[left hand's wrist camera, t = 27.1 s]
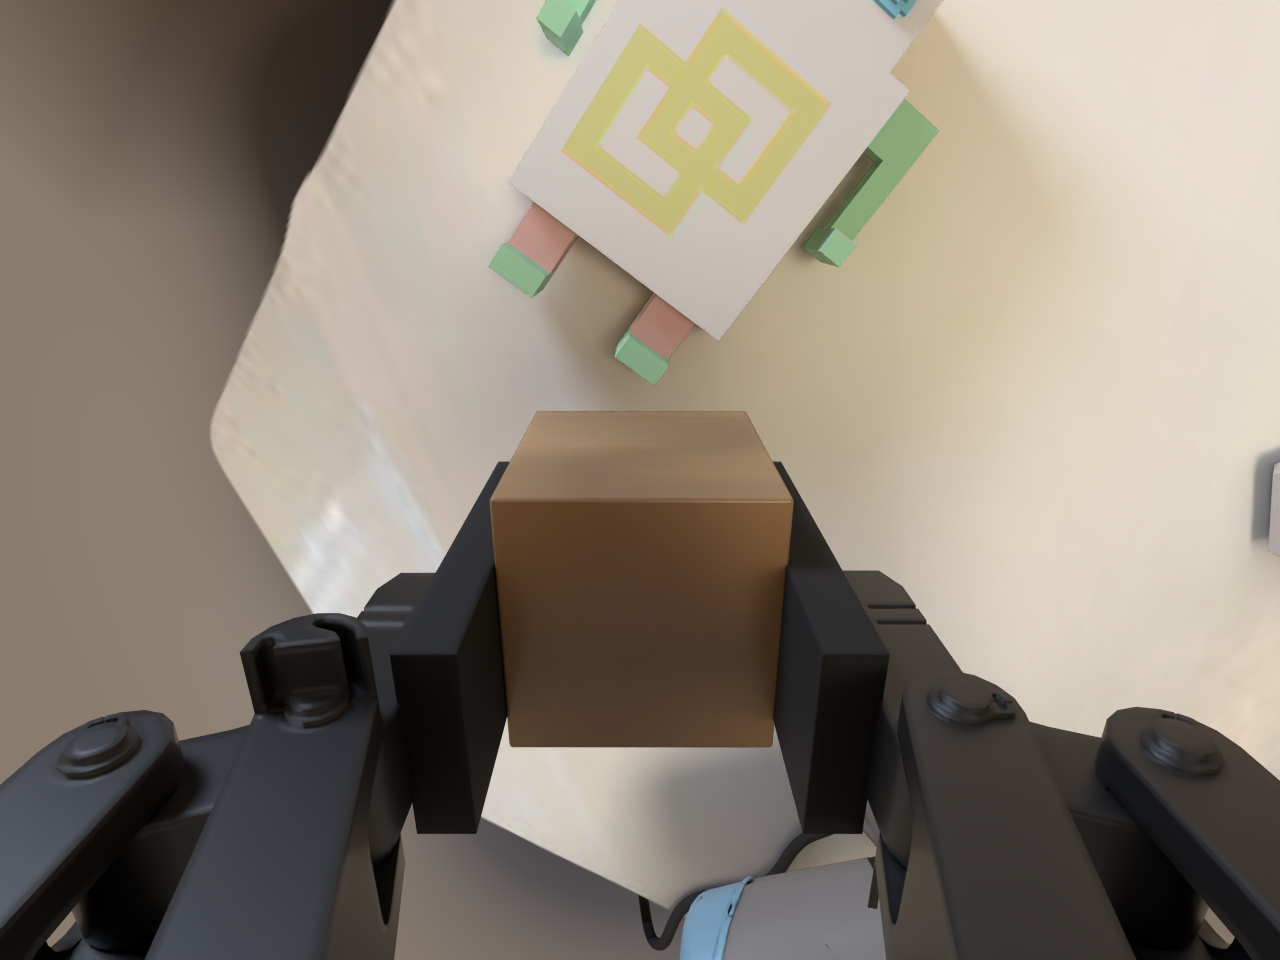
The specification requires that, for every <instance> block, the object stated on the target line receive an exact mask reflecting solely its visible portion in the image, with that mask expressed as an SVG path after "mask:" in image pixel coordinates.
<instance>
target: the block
mask: <svg viewBox="0 0 1280 960" xmlns="http://www.w3.org/2000/svg"><path fill="white" fill-rule="evenodd" d="M793 502H794V501H793V499H792V497H791V495H790V493H789V491H788V489H787V487H786V486H785V484H784V482H783V480H782V478H781V476H780V474H779V473H778V471H777V469H776V467H775V465H774V463H773V462H772V460H771V458H770V456H769V454H768V452H767V450H766V449H765V447H764V445H763V443H762V441H761V439H760V437H759V436H758V434H757V432H756V430H755V428H754V426H753V424H752V423H751V421H750V419H749V417H748V415H747V413H746V412H744V411H537V412H536V414H535V416H534V418H533V419H532V421H531V423H530V425H529V427H528V429H527V431H526V433H525V435H524V436H523V438H522V440H521V442H520V444H519V446H518V448H517V450H516V451H515V453H514V455H513V457H512V459H511V461H510V463H509V465H508V467H507V468H506V470H505V472H504V474H503V476H502V478H501V480H500V482H499V484H498V485H497V487H496V489H495V491H494V493H493V495H492V497H491V499H490V512H491V524H492V536H493V548H494V560H495V572H496V585H497V597H498V609H499V621H500V633H501V645H502V657H503V670H504V682H505V694H506V706H507V718H508V730H509V743H510V746H511V747H771V746H772V744H773V733H774V721H773V716H774V704H775V692H776V680H777V669H778V657H779V645H780V633H781V621H782V609H783V597H784V585H785V574H786V565H788V560H789V548H790V537H791V525H792V514H793Z"/></svg>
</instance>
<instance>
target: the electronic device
mask: <svg viewBox="0 0 1280 960" xmlns="http://www.w3.org/2000/svg"><path fill="white" fill-rule="evenodd" d="M1268 551H1269V552H1271V553H1273V554H1276V555H1278V556H1280V462H1279V463H1277V464H1275V466H1274V471H1273V481H1272V497H1271V513H1270V530H1269V546H1268Z"/></svg>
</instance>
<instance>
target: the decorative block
mask: <svg viewBox="0 0 1280 960" xmlns="http://www.w3.org/2000/svg"><path fill="white" fill-rule="evenodd" d="M595 1H596V0H546V2H545V3H544V5H543V7H542V9H541V10H540V12H539V14H538V16H537V17H536V18H537V20H538V22H539V24H540V26H541V28H542V30H543V32H544V33H545V35H546V37H547V39H548V40H550V41H551V42H552V43H553V44H554V45H556V46H557V47H558V48H559V49H561V50H562V51H563V52H564V53H565V54H567V55H568V56H569V55H570V53H571V51H572V50H573V48H574V46H575V45H576V43H577V41H578V40H579V38H580V36H581V35H582V33H583V30H582V26H581V25H582V23H583V21H584V20H585V18H586V16H587V15H588V13H589V11H590V10H591V8H592V6H593V5H594V3H595ZM942 1H943V0H618V2H617V4H616V5H615V7H614V8H613V10H612V12H611V13H610V15H609V17H608V18H607V20H606V22H605V23H604V25H603V27H602V28H601V30H600V32H599V33H598V35H597V36H596V38H595V40H594V41H593V43H592V45H591V46H590V48H589V50H588V51H587V53H586V55H585V56H584V58H583V59H582V61H581V63H580V64H579V66H578V68H577V69H576V71H575V73H574V74H573V76H572V78H571V79H570V81H569V82H568V84H567V86H566V87H565V89H564V91H563V92H562V94H561V96H560V97H559V99H558V101H557V102H556V104H555V106H554V107H553V109H552V110H551V112H550V114H549V115H548V117H547V119H546V120H545V122H544V124H543V125H542V127H541V129H540V130H539V132H538V133H537V135H536V137H535V138H534V140H533V142H532V143H531V145H530V147H529V148H528V150H527V152H526V153H525V155H524V157H523V158H522V160H521V161H520V163H519V165H518V166H517V168H516V170H515V171H514V173H513V175H512V176H511V178H510V180H509V181H508V182H509V183H510V184H511V185H513V186H514V187H515V188H517V189H518V190H519V191H521V192H522V193H523V194H525V195H526V196H527V197H529V198H530V199H531V200H532V201H534V203H533V204H532V206H531V207H530V209H529V211H528V212H527V214H526V215H525V217H524V219H523V220H522V222H521V223H520V225H519V227H518V228H517V230H516V231H515V233H514V235H513V236H512V238H511V239H510V241H509V243H507V244H502V246H501V247H500V249H499V250H498V252H497V254H496V255H495V257H494V259H493V260H492V262H491V263H490V265H489V267H490V268H491V269H493V270H494V271H496V272H497V273H498V274H500V275H501V276H502V277H504V278H505V279H507V280H508V281H509V282H511V283H512V284H514V285H515V286H516V287H518V288H519V289H520V290H522V291H523V292H525V293H526V294H527V295H529V296H530V297H533V296H535V295H536V294H537V293H539V292H540V291H541V290H543V288H544V287H545V285H546V284H547V282H548V281H549V279H550V278H551V276H552V275H553V273H554V272H555V270H556V269H557V267H558V266H559V264H560V263H561V261H562V260H563V258H564V257H565V255H566V253H567V252H568V250H569V249H570V247H571V246H572V244H573V243H574V241H575V240H576V238H577V237H578V235H579V236H580V237H581V238H583V239H584V240H585V241H587V242H588V243H589V244H591V245H592V246H593V247H595V248H596V249H597V250H599V251H600V252H601V253H603V254H604V255H605V256H607V257H608V258H609V259H611V260H612V261H613V262H615V263H616V264H617V265H618V266H620V267H621V268H622V269H624V270H625V271H626V272H628V273H629V274H630V275H632V276H633V277H634V278H636V279H637V280H638V281H640V282H641V283H642V284H644V285H645V286H646V287H648V288H649V289H650V290H652V291H653V292H654V293H653V294H652V296H651V297H650V298H649V300H648V301H647V303H646V304H645V305H644V307H643V308H642V310H641V311H640V312H639V314H638V315H637V317H636V318H635V319H634V321H633V322H632V324H631V325H630V326H629V328H628V329H627V331H626V332H625V333H624V335H623V336H622V338H621V339H620V340H619V342H618V343H617V348H616V353H615V358H616V359H618V360H619V361H620V362H622V363H623V364H625V365H626V366H627V367H629V368H630V369H631V370H633V371H634V372H636V373H637V374H638V375H640V376H641V377H643V378H644V379H645V380H647V381H648V382H649V383H651V384H652V385H654V386H655V384H656V383H657V382H658V380H659V379H660V378H661V376H662V375H663V374H664V372H665V371H666V370H667V368H668V367H669V365H668V359H669V358H670V357H671V355H672V354H673V353H674V351H675V350H676V349H677V347H678V346H679V345H680V343H681V342H682V341H683V339H684V338H685V337H686V335H687V334H688V333H689V331H690V330H691V329H692V327H693V326H694V325H695V324H697V325H698V326H699V327H700V328H702V329H703V330H704V331H706V332H707V333H708V334H710V335H711V336H712V337H714V338H715V339H716V340H718V341H719V340H720V339H721V337H722V336H723V335H724V333H725V332H726V331H727V330H728V328H729V327H730V326H731V324H732V323H733V322H734V320H735V319H736V318H737V316H738V315H739V314H740V313H741V311H742V310H743V309H744V307H745V306H746V305H747V303H748V302H749V301H750V299H751V298H752V297H753V296H754V294H755V293H756V292H757V290H758V289H759V288H760V286H761V285H762V284H763V282H764V281H765V280H766V279H767V277H768V276H769V275H770V273H771V272H772V271H773V269H774V268H775V267H776V265H777V264H778V263H779V262H780V260H781V259H782V258H783V256H784V255H785V254H786V252H787V251H788V250H789V249H790V247H791V246H792V245H793V243H794V242H795V241H796V239H797V238H798V237H799V235H800V234H801V233H802V232H803V230H804V229H805V228H806V226H807V225H808V224H809V222H810V221H811V220H812V218H813V217H814V216H815V215H816V213H817V212H818V211H819V209H820V208H821V207H822V205H823V204H824V203H825V201H826V200H827V199H828V198H829V196H830V195H831V194H832V192H833V191H834V190H835V188H836V187H837V186H838V184H839V183H840V182H841V181H842V179H843V178H844V177H845V175H846V174H847V173H848V171H849V170H850V169H851V168H852V166H853V165H854V164H855V162H856V161H857V160H858V158H859V157H860V156H861V154H862V153H864V154H866V155H867V156H868V157H869V158H870V159H871V160H872V161H874V162H875V163H874V164H873V166H872V167H871V168H870V169H869V171H868V172H867V173H866V175H865V176H864V177H863V178H862V180H861V181H860V182H859V184H858V185H857V186H856V187H855V189H854V190H853V191H852V193H851V194H850V195H849V196H848V198H847V199H846V200H845V202H844V203H843V204H842V206H841V207H840V208H839V209H838V211H837V212H836V213H835V215H834V216H833V217H832V218H831V220H830V221H829V222H828V224H827V225H826V226H825V227H824V228H819V227H818V229H817V230H816V231H815V232H814V234H813V235H812V236H811V238H810V239H809V240H808V242H807V243H806V244H805V245H804V247H803V248H804V249H805V250H806V251H807V252H809V253H810V254H811V255H812V256H814V257H815V258H816V259H817V260H818V261H820V262H822V263H826V264H830V265H833V266H837V267H840V265H841V264H842V263H843V262H844V260H845V259H846V258H847V257H848V255H849V254H850V253H851V252H852V250H853V249H854V248H855V247H856V244H855V243H854V242H853V241H852V240H853V239H854V238H855V236H856V235H857V234H858V233H859V231H860V230H861V229H862V227H863V226H864V225H865V224H866V222H867V221H868V220H869V219H870V217H871V216H872V215H873V214H874V212H875V211H876V210H877V209H878V207H879V206H880V205H881V204H882V202H883V201H884V200H885V198H886V197H887V196H888V195H889V193H890V192H891V191H892V190H893V188H894V187H895V186H896V185H897V183H898V182H899V181H900V180H901V178H902V177H903V176H904V175H905V173H906V172H907V171H908V169H909V168H910V167H911V166H912V164H913V163H914V162H915V161H916V159H917V158H918V157H919V156H920V154H921V153H922V152H923V151H924V149H925V148H926V147H927V146H928V144H929V143H930V142H931V140H932V139H933V138H934V137H935V135H936V134H937V133H938V132H939V130H938V129H937V128H936V127H935V126H934V125H932V124H931V123H930V122H929V121H928V120H927V119H926V118H925V117H924V116H923V115H922V114H920V113H919V112H918V111H917V110H916V109H915V108H914V107H913V106H912V105H911V104H910V103H908V102H907V101H906V100H905V99H904V98H905V97H906V96H907V94H908V93H909V92H910V90H909V89H908V88H907V87H906V86H905V85H904V84H903V83H901V82H900V81H899V80H898V79H897V78H896V77H895V76H894V75H893V74H892V73H891V72H890V71H891V69H892V68H893V67H894V65H895V64H896V63H897V61H898V60H899V59H900V57H901V56H902V55H903V53H904V52H905V51H906V49H907V48H908V47H909V45H910V44H911V43H912V41H913V40H914V39H915V37H916V36H917V35H918V33H919V32H920V31H921V29H922V28H923V27H924V25H925V24H926V23H927V21H928V20H929V19H930V17H931V16H932V15H933V13H934V12H935V11H936V9H937V8H938V7H939V5H940V4H941V3H942Z"/></svg>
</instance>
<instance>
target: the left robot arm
mask: <svg viewBox="0 0 1280 960" xmlns="http://www.w3.org/2000/svg"><path fill="white" fill-rule="evenodd" d="M509 463H510V462H498V464H497V465H496V467H495V469H494V471H493V472H492V474H491V476H490V478H489V480H488V481H487V483H486V485H485V487H484V488H483V490H482V492H481V494H480V495H479V497H478V499H477V501H476V503H475V504H474V506H473V508H472V510H471V511H470V513H469V515H468V517H467V519H466V520H465V522H464V524H463V526H462V527H461V529H460V531H459V533H458V534H457V536H456V538H455V540H454V542H453V543H452V545H451V547H450V549H449V550H448V552H447V554H446V556H445V557H444V559H443V561H442V563H441V565H440V566H439V568H438V570H437V572H436V573H400V574H399V575H397V576H396V577H394V578H393V579H391V580H390V581H388V582H387V583H385V584H384V585H382V586H381V587H379V588H378V589H377V590H376V591H375V593H374V594H373V596H372V597H371V599H370V600H369V601H368V603H367V604H366V606H365V607H364V611H362V612H361V613H360V614H359V616H358V617H357V618H356V617H352V616H348V615H344V614H340V613H317V614H312V615H307V616H302V617H297V618H293V619H290V620H287V621H285V622H282V623H280V624H277V625H274V626H272V627H270V628H268V629H267V630H265V631H263V632H262V633H260V634H259V635H257V636H255V637H254V638H252V639H251V640H250V641H249V642H248V644H247V645H246V646H245V647H244V648H243V649H242V650H241V652H240V655H241V659H242V663H243V667H244V671H245V675H246V679H247V684H248V688H249V692H250V696H251V700H252V704H253V708H254V712H255V715H254V717H253V719H252V721H251V724H250V725H247V726H244V727H240V728H237V729H233V730H229V731H224V732H219V733H214V734H210V735H205V736H200V737H196V738H191V739H187V740H181V741H179V740H178V737H177V733H176V730H175V727H174V723H173V722H172V721H171V720H170V719H169V718H167V717H166V716H165V715H164V714H163V713H157V712H152V711H146V710H140V711H131V712H121V713H117V714H112V715H108V716H106V717H101V718H98V719H95V720H92V721H89V722H87V723H86V724H84V725H82V726H80V727H77V728H75V729H73V730H71V731H69V732H67V733H65V734H63V735H62V736H60V737H59V738H57V739H56V740H54V741H53V742H51V743H50V744H49V745H47V746H46V747H44V748H43V749H42V750H40V751H39V752H38V753H37V754H35V755H34V756H33V757H32V758H31V759H30V760H28V761H27V762H26V763H25V764H24V765H23V766H22V767H20V768H19V769H18V770H17V771H16V772H15V773H14V774H12V775H11V776H10V777H9V778H8V779H7V780H5V781H4V782H3V783H2V784H1V785H0V960H394V955H395V946H396V937H397V929H398V920H399V911H400V903H401V894H402V886H403V876H404V868H405V859H404V852H403V845H402V839H401V830H402V827H403V825H404V822H405V820H406V817H407V815H408V812H409V809H410V807H411V804H412V803H413V810H414V816H415V822H416V829H417V834H476V833H477V829H478V825H479V822H480V818H481V814H482V810H483V806H484V802H485V799H486V795H487V791H488V787H489V783H490V780H491V776H492V772H493V768H494V764H495V761H496V757H497V753H498V749H499V745H500V742H501V738H502V734H503V730H504V726H505V722H506V719H507V706H506V694H505V682H504V670H503V657H502V645H501V633H500V621H499V609H498V597H497V585H496V572H495V560H494V548H493V536H492V524H491V512H490V499H491V497H492V495H493V493H494V491H495V489H496V487H497V485H498V484H499V482H500V480H501V478H502V476H503V474H504V472H505V470H506V468H507V467H508V465H509ZM773 463H774V465H775V467H776V469H777V471H778V473H779V474H780V476H781V478H782V480H783V482H784V484H785V486H786V487H787V489H788V491H789V493H790V495H791V497H792V499H793V501H794V502H793V514H792V525H791V537H790V548H789V560H788V565H786V574H785V585H784V597H783V609H782V621H781V633H780V645H779V657H778V669H777V680H776V692H775V704H774V716H773V721H774V724H775V728H776V732H777V736H778V740H779V743H780V747H781V751H782V755H783V759H784V762H785V766H786V770H787V774H788V778H789V782H790V785H791V789H792V793H793V797H794V801H795V804H796V808H797V812H798V816H799V820H800V823H801V827H802V831H803V833H802V834H800V835H799V836H798V837H796V838H795V839H794V840H793V841H792V842H791V843H790V844H789V845H788V847H787V848H786V849H785V851H784V852H783V854H782V855H781V857H780V859H779V860H778V862H777V863H776V865H775V866H774V867H773V869H772V870H771V871H770V872H769V873H768V874H767V875H765V876H764V877H757V876H755V875H754V876H748V877H746V878H744V879H743V880H742V881H741V882H738V883H734V884H730V885H726V886H722V887H718V888H714V889H708V890H703V891H699V892H697V893H694V894H692V895H690V896H688V897H686V898H685V899H683V900H682V901H681V902H680V903H679V904H678V905H677V906H676V907H675V909H674V910H673V912H672V914H671V916H670V918H669V920H668V922H667V925H666V927H665V930H664V932H663V934H662V936H661V937H660V938H658V937H657V936H656V933H655V931H654V927H653V923H652V918H651V912H650V905H649V899H647V898H645V897H643V896H641V895H639V894H638V898H639V905H640V912H641V918H642V924H643V929H644V933H645V937H646V939H647V941H648V943H649V944H650V946H651V947H652V948H653V949H655V950H659V951H661V950H664V949H666V948H667V947H668V946H669V945H670V943H671V941H672V939H673V937H674V934H675V932H676V929H677V927H678V925H679V923H680V921H681V919H682V918H683V916H684V915H685V914H686V913H687V912H688V914H687V915H686V918H685V922H684V927H683V931H682V938H681V947H680V958H679V960H1280V781H1279V780H1278V779H1277V778H1276V777H1275V776H1274V775H1272V774H1271V773H1270V772H1269V771H1268V770H1267V769H1265V768H1264V767H1263V766H1262V765H1261V764H1260V763H1259V762H1257V761H1256V760H1255V759H1254V758H1253V757H1252V756H1250V755H1249V754H1248V753H1247V752H1246V751H1245V750H1243V749H1242V748H1241V747H1240V746H1238V745H1237V744H1235V743H1234V742H1232V741H1231V740H1230V739H1228V738H1227V737H1225V736H1224V735H1222V734H1221V733H1220V732H1218V731H1216V730H1214V729H1212V728H1210V727H1208V726H1206V725H1204V724H1202V723H1199V722H1197V721H1195V720H1194V719H1192V718H1190V717H1187V716H1184V715H1181V714H1178V713H1177V714H1175V713H1174V712H1170V711H1165V710H1161V709H1152V708H1142V707H1133V708H1127V709H1122V710H1117V711H1116V712H1115V713H1114V714H1112V715H1111V716H1110V717H1109V718H1108V719H1107V721H1106V725H1105V728H1104V731H1103V735H1102V738H1099V737H1094V736H1090V735H1085V734H1080V733H1075V732H1070V731H1066V730H1061V729H1056V728H1051V727H1047V726H1044V725H1040V724H1036V723H1033V722H1029V720H1028V718H1027V716H1026V713H1025V712H1024V711H1023V709H1022V708H1021V707H1020V705H1019V704H1018V703H1017V701H1016V700H1015V698H1013V697H1012V696H1011V695H1009V694H1008V693H1007V692H1005V691H1004V690H1002V689H1001V688H1000V687H998V686H997V685H995V684H993V683H991V682H988V681H986V680H984V679H981V678H979V677H977V676H975V675H970V674H966V673H963V672H962V671H961V669H960V668H959V666H958V665H957V663H956V662H955V661H954V659H953V658H952V656H951V655H950V654H949V652H948V651H947V649H946V648H945V646H944V645H943V644H942V642H941V641H940V639H939V638H938V636H937V635H936V634H935V632H934V631H933V629H932V628H931V626H930V625H927V623H926V619H925V618H924V616H923V615H922V614H921V612H920V611H919V609H916V605H915V604H914V602H913V601H912V599H911V598H910V596H909V595H908V594H907V592H906V591H905V589H904V588H903V587H902V586H901V585H899V584H898V583H896V582H895V581H893V580H892V579H890V578H889V577H887V576H886V575H884V574H883V573H882V572H880V571H842V569H841V567H840V565H839V564H838V562H837V560H836V558H835V557H834V555H833V553H832V551H831V550H830V548H829V546H828V544H827V542H826V541H825V539H824V537H823V535H822V534H821V532H820V530H819V528H818V527H817V525H816V523H815V521H814V519H813V518H812V516H811V514H810V512H809V511H808V509H807V507H806V505H805V503H804V502H803V500H802V498H801V496H800V495H799V493H798V491H797V489H796V488H795V486H794V484H793V482H792V480H791V479H790V477H789V475H788V473H787V472H786V470H785V468H784V466H783V465H782V463H781V462H773ZM863 831H864V832H865V833H866V835H867V836H868V837H869V838H870V839H871V841H872V842H873V843H874V844H875V845H876V847H877V851H876V856H875V857H870V858H863V859H857V860H852V861H846V862H841V863H835V864H830V865H824V866H819V867H813V868H808V869H802V870H797V871H791V872H786V871H787V869H788V867H789V866H790V864H791V863H792V861H793V860H794V858H795V857H796V856H797V854H798V853H799V852H800V851H801V850H802V849H803V848H804V847H806V846H807V845H808V844H810V843H812V842H814V841H816V840H819V839H822V838H824V837H827V836H830V835H832V834H862V832H863ZM785 872H786V873H785ZM1209 907H1210V908H1211V910H1212V911H1213V912H1214V913H1215V914H1216V916H1217V917H1218V918H1219V919H1220V920H1221V921H1222V923H1223V924H1224V925H1225V926H1226V927H1227V928H1228V930H1229V931H1230V932H1231V933H1232V934H1233V936H1234V937H1235V938H1234V940H1233V942H1232V944H1231V945H1230V944H1228V943H1226V942H1225V941H1224V940H1223V939H1222V938H1221V937H1220V936H1219V935H1218V934H1217V933H1216V932H1215V931H1214V929H1213V928H1212V927H1211V926H1210V925H1209V923H1208V922H1207V921H1206V920H1205V919H1204V918H1205V916H1206V913H1207V911H1208V909H1209ZM71 911H72V913H73V915H74V917H75V920H76V922H75V923H74V924H73V926H72V927H71V928H70V929H69V931H68V932H67V933H66V934H65V935H64V936H63V937H62V938H61V939H60V940H59V941H58V942H57V943H55V944H54V945H53V946H52V947H49V946H48V944H47V942H46V940H47V939H48V938H49V937H50V936H51V934H52V933H53V932H54V931H55V930H56V928H57V927H58V926H59V925H60V924H61V922H62V921H63V920H64V919H65V918H66V917H67V915H68V914H69V913H70V912H71Z"/></svg>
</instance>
